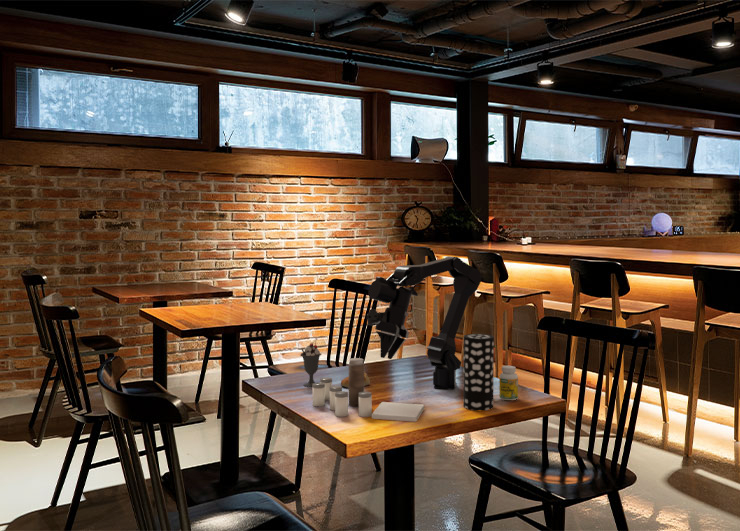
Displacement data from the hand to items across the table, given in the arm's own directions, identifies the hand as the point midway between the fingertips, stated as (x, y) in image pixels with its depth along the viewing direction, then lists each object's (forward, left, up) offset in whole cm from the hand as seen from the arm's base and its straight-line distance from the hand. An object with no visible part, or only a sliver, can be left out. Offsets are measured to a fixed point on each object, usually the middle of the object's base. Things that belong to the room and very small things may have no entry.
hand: (385, 358), depth 191 cm
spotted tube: (-27, +2, -12) cm, 30 cm away
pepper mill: (+7, +8, -12) cm, 16 cm away
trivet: (-7, +14, -12) cm, 20 cm away
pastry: (+13, -13, -12) cm, 22 cm away
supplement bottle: (-35, -8, -12) cm, 38 cm away
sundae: (+27, -10, -12) cm, 31 cm away
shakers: (+11, +13, -12) cm, 21 cm away
